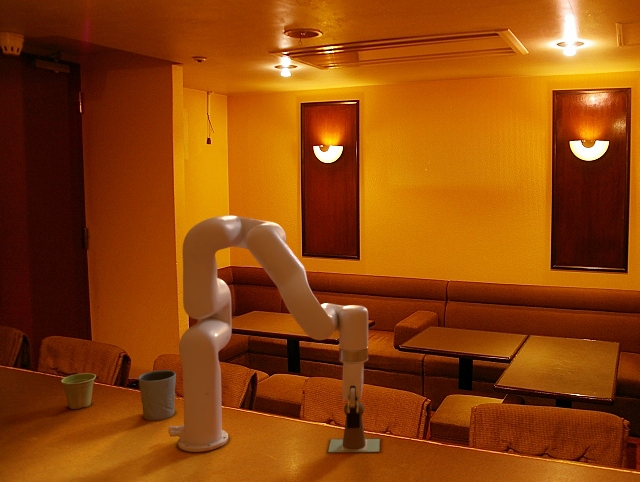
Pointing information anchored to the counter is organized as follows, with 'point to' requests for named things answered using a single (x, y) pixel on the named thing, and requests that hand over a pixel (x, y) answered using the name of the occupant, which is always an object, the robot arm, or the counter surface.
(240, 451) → the counter surface
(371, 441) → the placemat
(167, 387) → the grey cup
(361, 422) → the brown tall tapered piece
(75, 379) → the plant pot
